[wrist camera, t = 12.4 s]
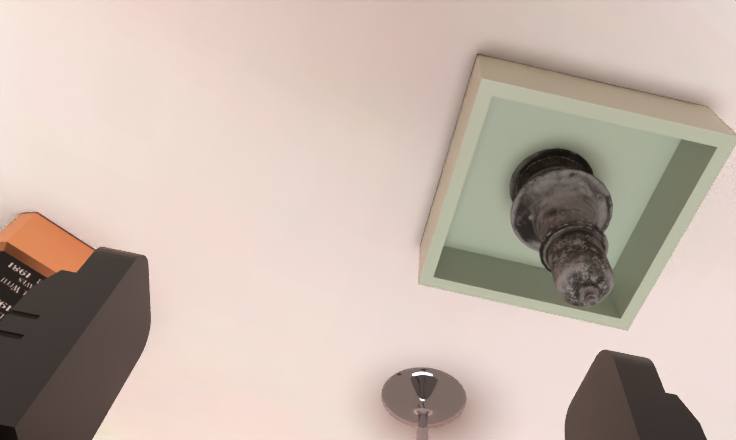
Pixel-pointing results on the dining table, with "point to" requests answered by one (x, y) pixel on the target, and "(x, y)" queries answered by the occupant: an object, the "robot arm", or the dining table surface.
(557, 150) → the salt shaker
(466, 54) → the dining table surface
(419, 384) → the wine glass
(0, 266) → the whiskey bottle
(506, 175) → the caddy
